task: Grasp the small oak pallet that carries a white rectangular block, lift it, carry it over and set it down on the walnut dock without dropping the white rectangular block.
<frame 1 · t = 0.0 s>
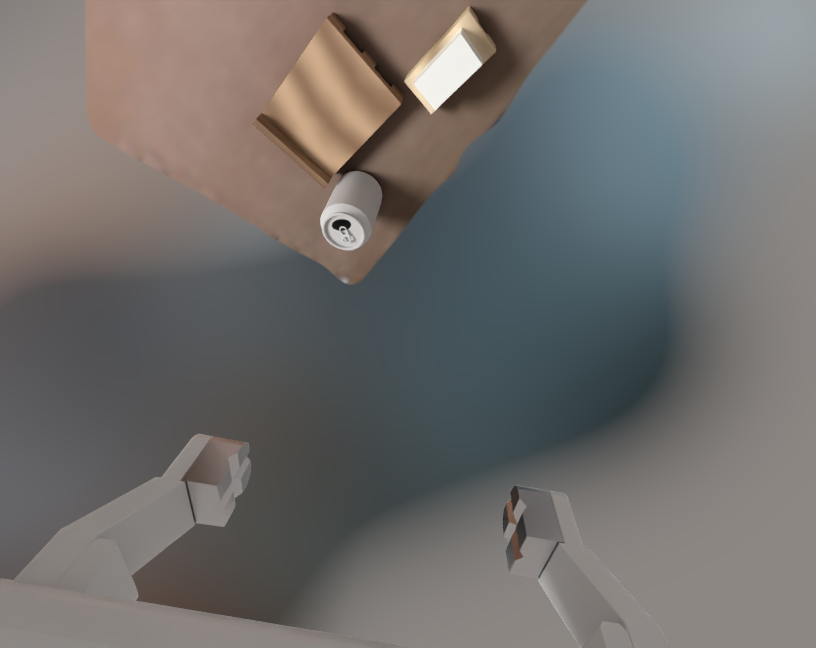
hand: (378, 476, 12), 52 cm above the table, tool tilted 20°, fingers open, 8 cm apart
can: (360, 189, 62), on the table
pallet: (449, 60, 48), on the table
white rectangular block: (448, 67, 46), point 3 cm above the table
dock: (332, 103, 53), on the table
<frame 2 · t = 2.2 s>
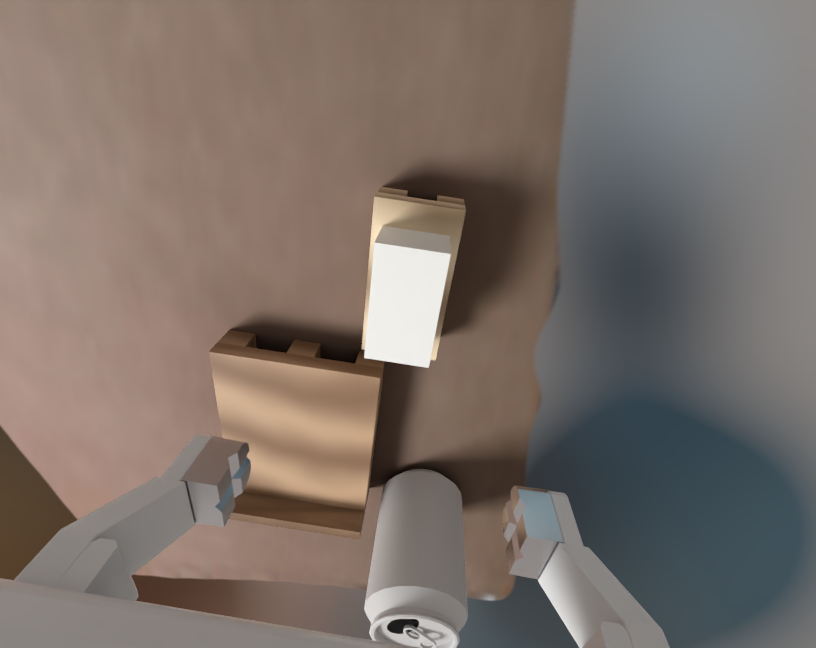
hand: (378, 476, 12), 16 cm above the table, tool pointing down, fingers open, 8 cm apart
can: (422, 487, 37), on the table
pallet: (411, 268, 26), on the table
white rectangular block: (408, 287, 23), point 3 cm above the table
dock: (307, 418, 33), on the table
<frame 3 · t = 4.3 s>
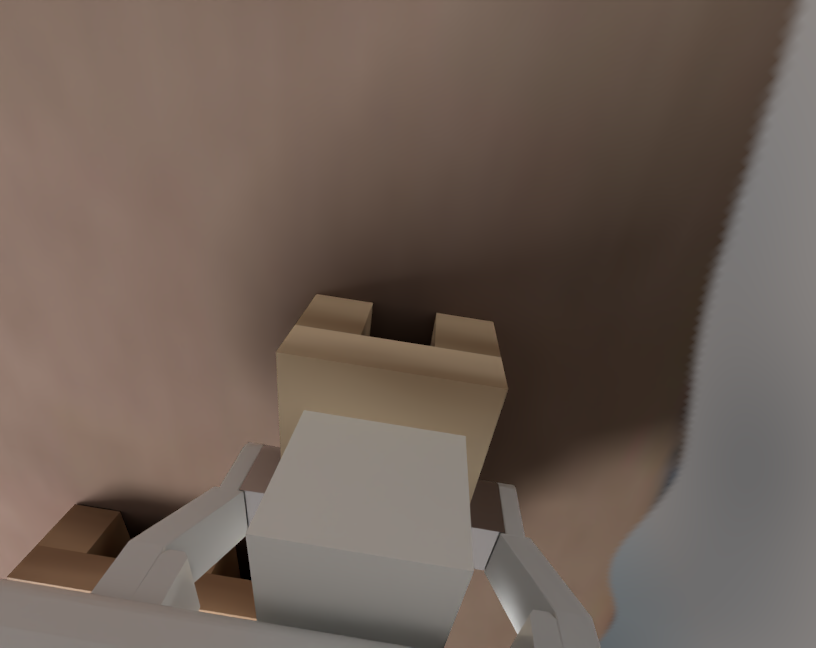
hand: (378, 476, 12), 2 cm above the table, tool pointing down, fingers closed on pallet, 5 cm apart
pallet: (386, 435, 13), on the table, touching white rectangular block, gripper
white rectangular block: (371, 515, 11), point 3 cm above the table, touching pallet
dock: (228, 616, 21), on the table
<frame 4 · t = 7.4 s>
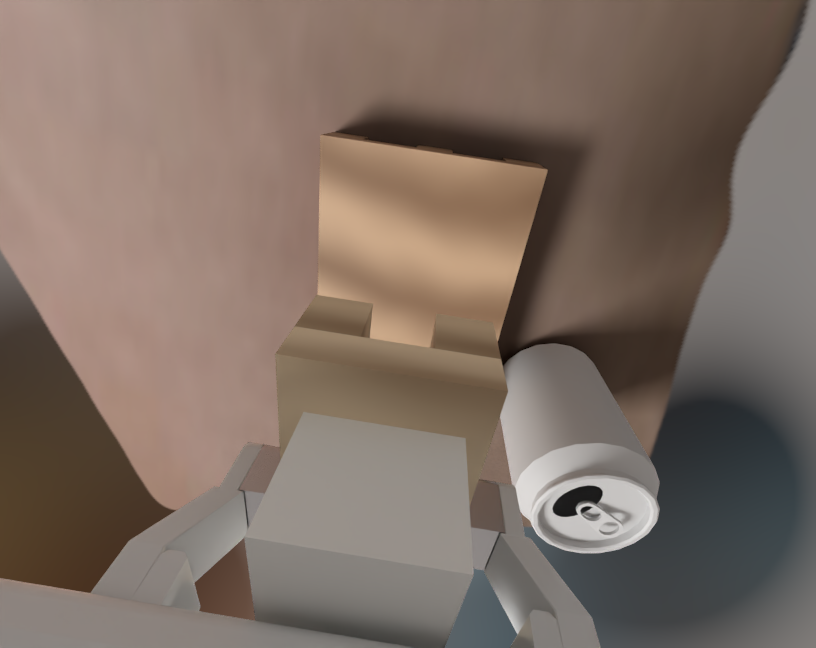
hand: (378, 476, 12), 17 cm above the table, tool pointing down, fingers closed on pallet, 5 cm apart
can: (542, 376, 30), on the table
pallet: (386, 436, 13), point 15 cm above the table, touching white rectangular block, gripper
white rectangular block: (371, 517, 11), point 18 cm above the table, touching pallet
dock: (416, 273, 27), on the table
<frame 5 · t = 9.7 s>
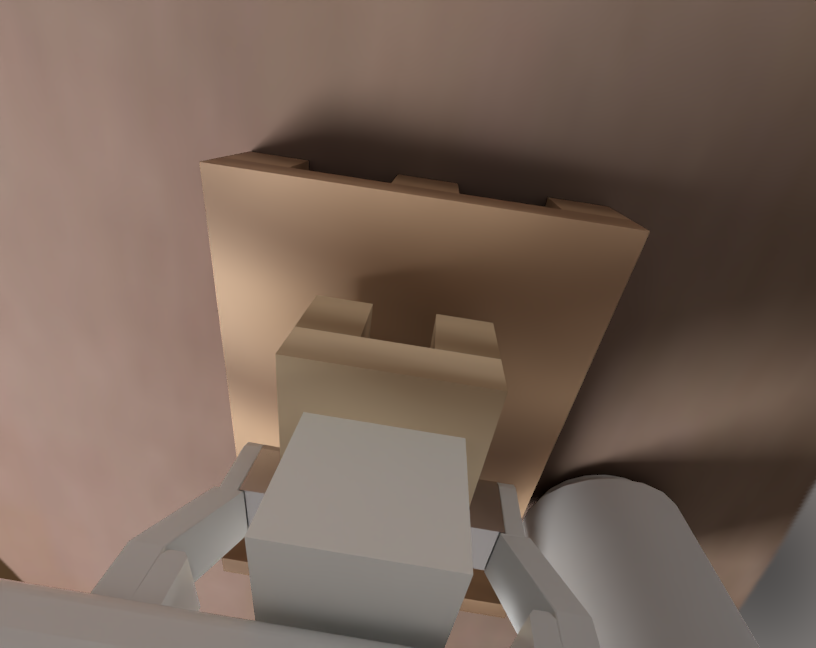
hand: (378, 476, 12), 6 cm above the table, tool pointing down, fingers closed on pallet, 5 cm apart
can: (591, 509, 20), on the table
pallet: (386, 436, 13), point 4 cm above the table, touching white rectangular block, gripper
white rectangular block: (371, 517, 11), point 7 cm above the table, touching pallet
dock: (399, 372, 17), on the table
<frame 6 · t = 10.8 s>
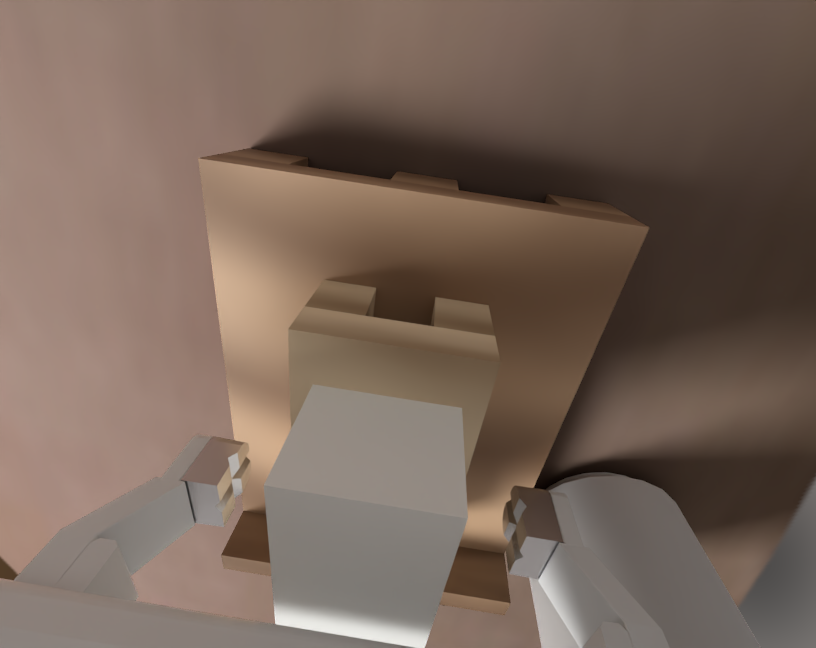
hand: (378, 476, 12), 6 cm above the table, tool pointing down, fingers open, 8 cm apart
can: (590, 507, 20), on the table
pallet: (388, 416, 14), point 3 cm above the table, touching white rectangular block, dock
white rectangular block: (375, 486, 11), point 6 cm above the table, touching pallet
dock: (398, 369, 17), on the table
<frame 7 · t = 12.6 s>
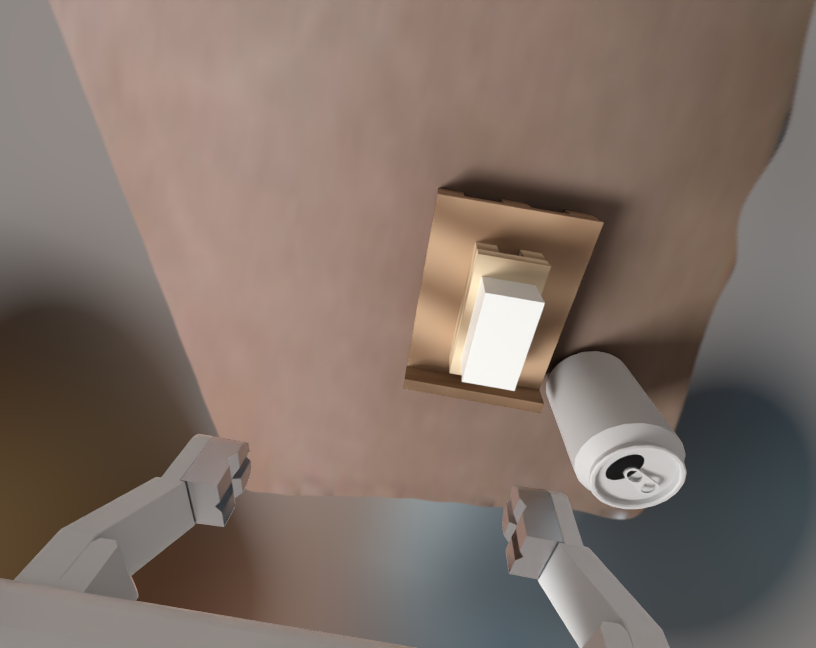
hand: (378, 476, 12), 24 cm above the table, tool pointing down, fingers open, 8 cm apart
can: (583, 378, 37), on the table
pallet: (491, 307, 31), point 3 cm above the table, touching white rectangular block, dock
white rectangular block: (495, 324, 29), point 6 cm above the table, touching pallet
dock: (488, 293, 34), on the table
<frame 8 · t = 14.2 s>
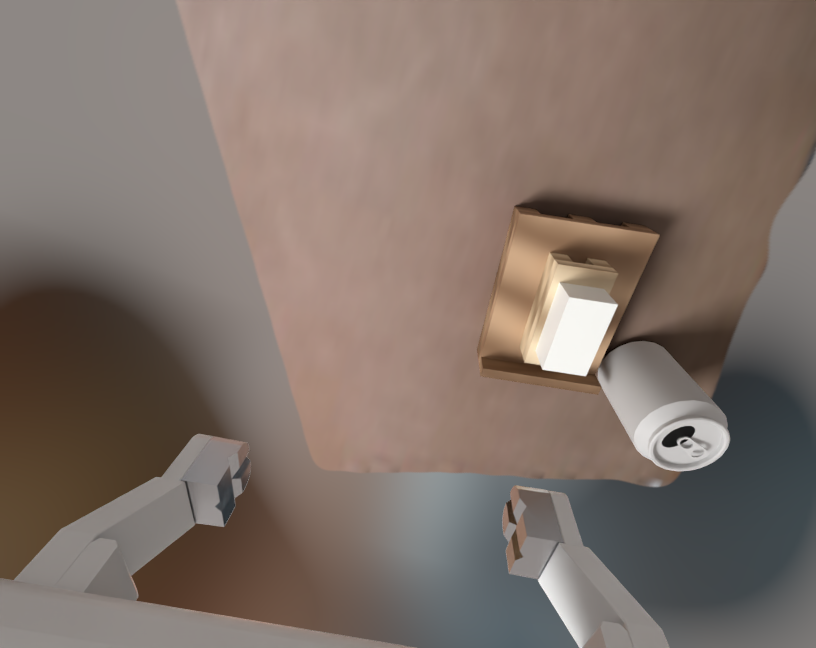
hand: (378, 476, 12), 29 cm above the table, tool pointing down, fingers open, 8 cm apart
can: (629, 364, 43), on the table
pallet: (559, 306, 37), point 3 cm above the table, touching white rectangular block, dock
white rectangular block: (567, 321, 34), point 6 cm above the table, touching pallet
dock: (552, 293, 39), on the table
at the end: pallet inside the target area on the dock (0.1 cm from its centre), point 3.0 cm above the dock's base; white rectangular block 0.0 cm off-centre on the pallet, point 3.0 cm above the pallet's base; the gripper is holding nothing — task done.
